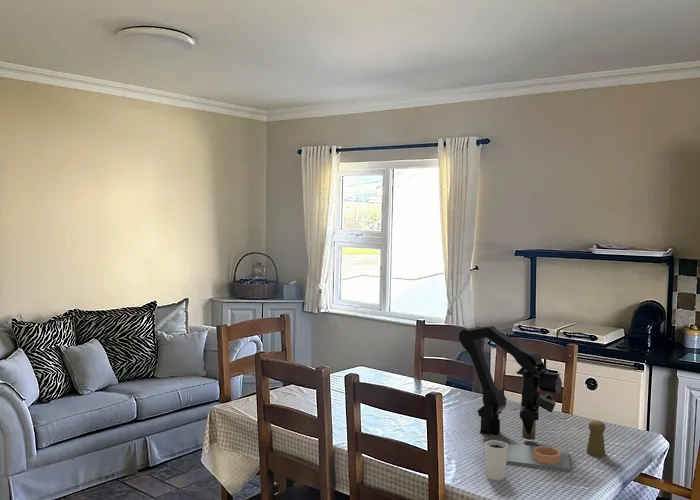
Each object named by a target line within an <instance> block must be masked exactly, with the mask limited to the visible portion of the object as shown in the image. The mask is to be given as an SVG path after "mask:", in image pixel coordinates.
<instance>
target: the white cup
mask: <svg viewBox="0 0 700 500" xmlns="http://www.w3.org/2000/svg"><path fill="white" fill-rule="evenodd" d="M484 448H485V476H486V478H488V479H489V480H493V481H503V480H505V479H506V474H507V473H506V472H507V471H506V470H507V464H506V461H507V448H508V445H507V443H506V442H504V441H502V440H501V441H500V440H495V439H492V440H487V441H486V442H485V447H484Z"/></svg>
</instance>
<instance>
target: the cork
mask: <svg viewBox="0 0 700 500" xmlns="http://www.w3.org/2000/svg"><path fill="white" fill-rule="evenodd" d="M588 428H589V437H588V441H587V446H586V454H587V455H588V456H591V457H596V458H603V457H606V448H605V447H606V446H605V437H604V432H605V431H606V424H605V423H604V422H603V421H600V420H594V419H593V420H591V421H590V422H589V423H588Z"/></svg>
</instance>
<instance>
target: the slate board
mask: <svg viewBox="0 0 700 500" xmlns="http://www.w3.org/2000/svg"><path fill="white" fill-rule="evenodd" d="M506 444H507V445H508V448H507V461H506V465H514V466H521V467H528V468H529V467H531V468H537V469H545V470H552V471H553V470H554V471H560V472H569V473H570V472H571V465H570V463H571V462H570V456H569V455H570V454H569V450H568V449H557V448H556V449H557V450H559V451H560V453H561V458H560V463H556V464H546V463H540V462H538V461H536V460H534V459H533V448H535V447H536V446H532V445H524V444H517V443H516V444H515V443H506ZM542 455H543V454H542Z"/></svg>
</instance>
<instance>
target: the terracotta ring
mask: <svg viewBox="0 0 700 500" xmlns="http://www.w3.org/2000/svg"><path fill="white" fill-rule="evenodd" d="M534 447H535V448H533V459H534V460H536V461H538V462H540V463H546V464H556V463H560V458H561V453H560V451H559V450H557V448H555V447H554V446H553V447H552V446H545V445H544V446H543V445H540V446H534ZM542 454H543V455H542Z"/></svg>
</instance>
